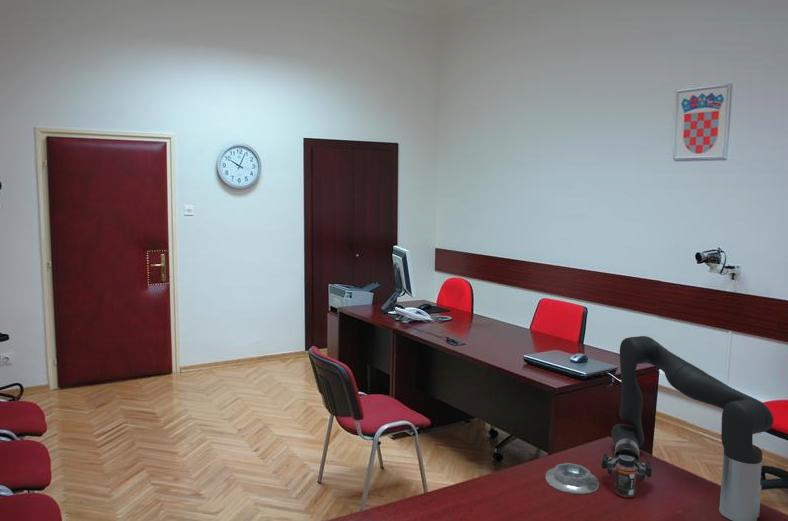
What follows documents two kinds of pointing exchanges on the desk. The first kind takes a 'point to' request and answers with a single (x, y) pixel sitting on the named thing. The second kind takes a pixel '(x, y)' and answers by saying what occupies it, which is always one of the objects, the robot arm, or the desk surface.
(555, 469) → the steel collar
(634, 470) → the supplement bottle
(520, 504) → the desk surface
